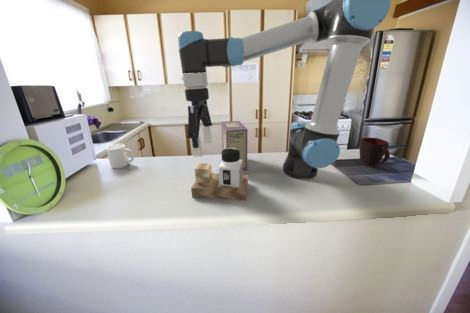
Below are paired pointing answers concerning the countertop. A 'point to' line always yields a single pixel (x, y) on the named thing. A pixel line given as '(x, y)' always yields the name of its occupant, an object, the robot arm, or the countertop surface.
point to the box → (235, 138)
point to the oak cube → (203, 173)
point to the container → (230, 168)
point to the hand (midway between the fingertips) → (203, 148)
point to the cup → (118, 155)
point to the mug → (373, 151)
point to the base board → (220, 189)
